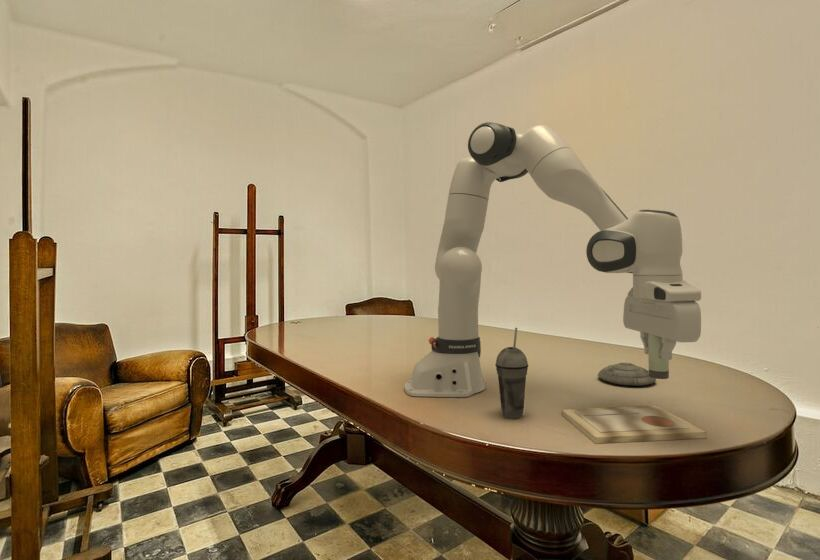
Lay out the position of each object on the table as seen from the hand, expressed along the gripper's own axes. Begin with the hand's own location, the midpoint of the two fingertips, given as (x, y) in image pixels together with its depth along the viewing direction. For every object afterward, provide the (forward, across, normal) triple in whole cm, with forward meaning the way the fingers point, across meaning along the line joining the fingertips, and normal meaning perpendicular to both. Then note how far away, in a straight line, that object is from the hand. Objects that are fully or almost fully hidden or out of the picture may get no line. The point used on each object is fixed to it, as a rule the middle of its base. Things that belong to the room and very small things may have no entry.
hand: (657, 356), depth 91 cm
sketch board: (+15, -2, -5) cm, 16 cm away
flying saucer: (+15, -35, +13) cm, 40 cm away
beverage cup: (+15, -11, -27) cm, 33 cm away
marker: (+4, 0, 0) cm, 4 cm away
